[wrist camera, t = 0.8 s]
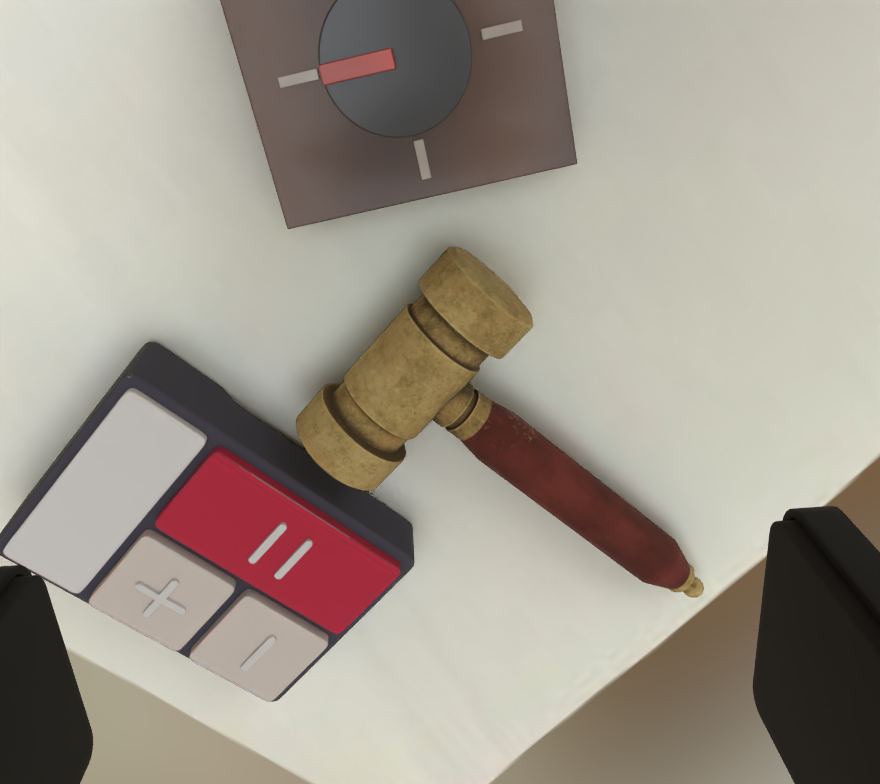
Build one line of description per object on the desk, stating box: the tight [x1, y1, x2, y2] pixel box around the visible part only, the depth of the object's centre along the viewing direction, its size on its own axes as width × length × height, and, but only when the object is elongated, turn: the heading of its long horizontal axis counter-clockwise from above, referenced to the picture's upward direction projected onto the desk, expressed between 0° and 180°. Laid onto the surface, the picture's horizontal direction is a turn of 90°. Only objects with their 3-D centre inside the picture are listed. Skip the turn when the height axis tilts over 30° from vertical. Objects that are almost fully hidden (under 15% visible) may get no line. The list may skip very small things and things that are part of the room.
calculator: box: [0, 342, 414, 702], centre depth 37 cm, size 11×4×15 cm
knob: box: [318, 0, 473, 138], centre depth 25 cm, size 4×4×6 cm
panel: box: [220, 0, 577, 229], centre depth 29 cm, size 11×10×3 cm
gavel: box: [296, 247, 704, 597], centre depth 36 cm, size 21×5×10 cm
